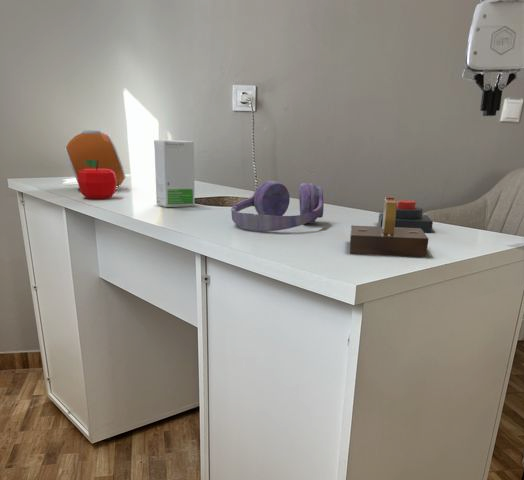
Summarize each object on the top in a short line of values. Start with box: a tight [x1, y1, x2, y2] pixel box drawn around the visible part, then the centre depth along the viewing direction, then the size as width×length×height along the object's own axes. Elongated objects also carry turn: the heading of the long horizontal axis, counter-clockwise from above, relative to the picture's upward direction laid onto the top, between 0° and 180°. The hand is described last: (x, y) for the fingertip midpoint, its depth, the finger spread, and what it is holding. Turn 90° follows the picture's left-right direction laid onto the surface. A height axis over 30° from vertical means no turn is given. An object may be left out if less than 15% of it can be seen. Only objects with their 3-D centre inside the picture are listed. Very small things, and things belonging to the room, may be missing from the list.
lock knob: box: [382, 196, 398, 234], centre depth 91 cm, size 6×2×5 cm, turn 172°
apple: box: [77, 160, 117, 200], centre depth 152 cm, size 11×11×10 cm
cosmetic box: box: [153, 139, 196, 208], centre depth 138 cm, size 8×7×16 cm
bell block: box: [377, 206, 434, 233], centre depth 114 cm, size 10×9×4 cm
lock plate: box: [349, 225, 429, 258], centre depth 93 cm, size 12×10×3 cm
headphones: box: [230, 180, 324, 233], centre depth 114 cm, size 18×8×20 cm
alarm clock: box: [64, 129, 126, 188], centre depth 172 cm, size 19×18×17 cm
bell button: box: [396, 199, 417, 210], centre depth 113 cm, size 4×4×2 cm
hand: (489, 115), depth 98 cm, fingers closed
